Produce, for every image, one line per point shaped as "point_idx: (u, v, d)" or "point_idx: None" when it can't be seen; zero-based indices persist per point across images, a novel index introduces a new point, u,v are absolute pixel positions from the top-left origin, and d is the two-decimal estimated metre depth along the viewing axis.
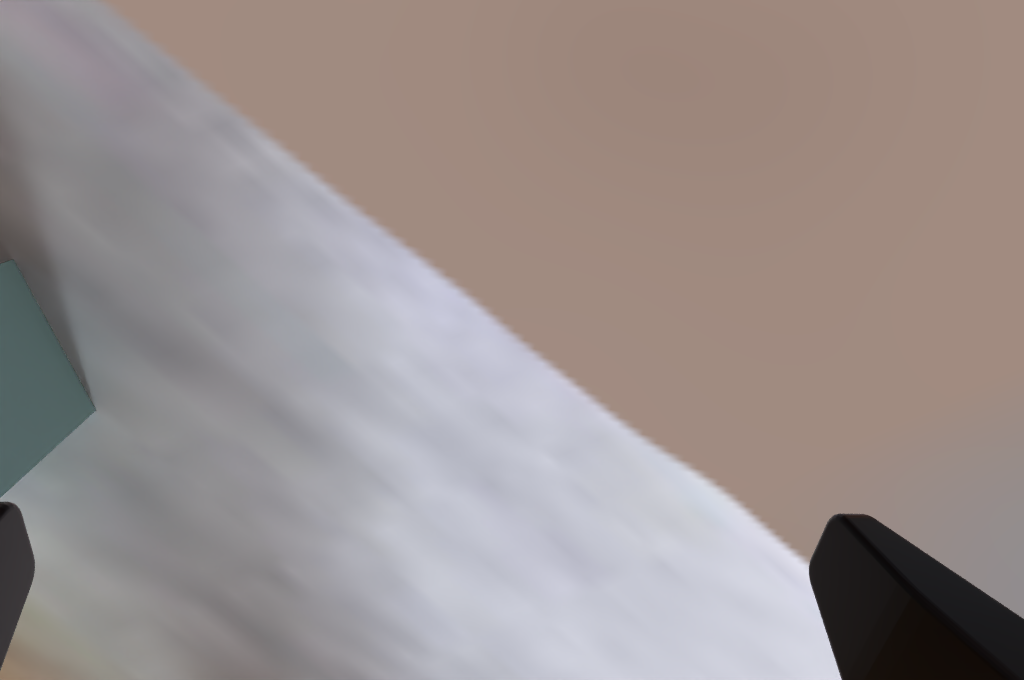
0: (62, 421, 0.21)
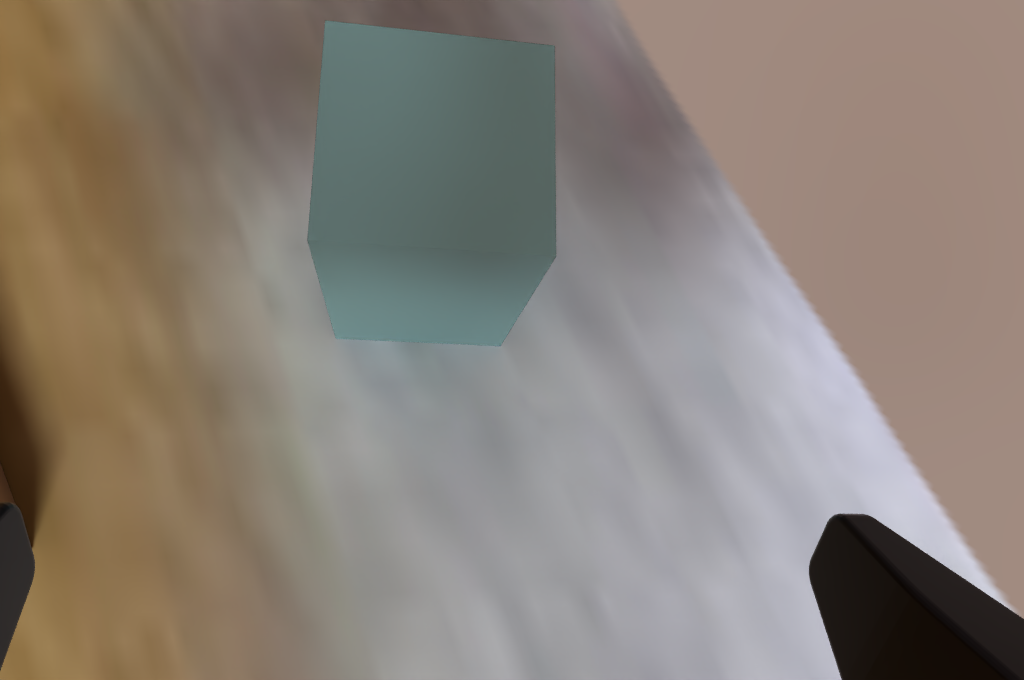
0: None
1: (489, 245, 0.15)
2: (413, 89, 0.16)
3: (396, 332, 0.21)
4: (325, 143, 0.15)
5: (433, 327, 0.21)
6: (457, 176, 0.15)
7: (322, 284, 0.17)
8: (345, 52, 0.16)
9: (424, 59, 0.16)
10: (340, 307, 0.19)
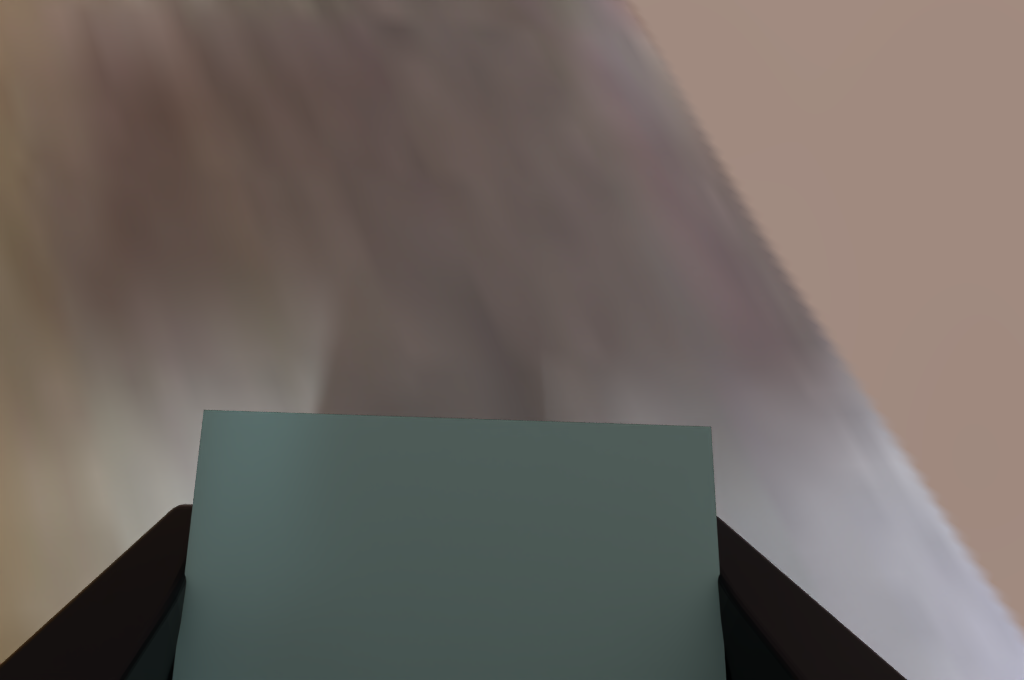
0: None
1: None
2: (404, 573, 0.07)
3: None
4: None
5: None
6: None
7: None
8: (248, 490, 0.07)
9: (430, 490, 0.07)
10: None
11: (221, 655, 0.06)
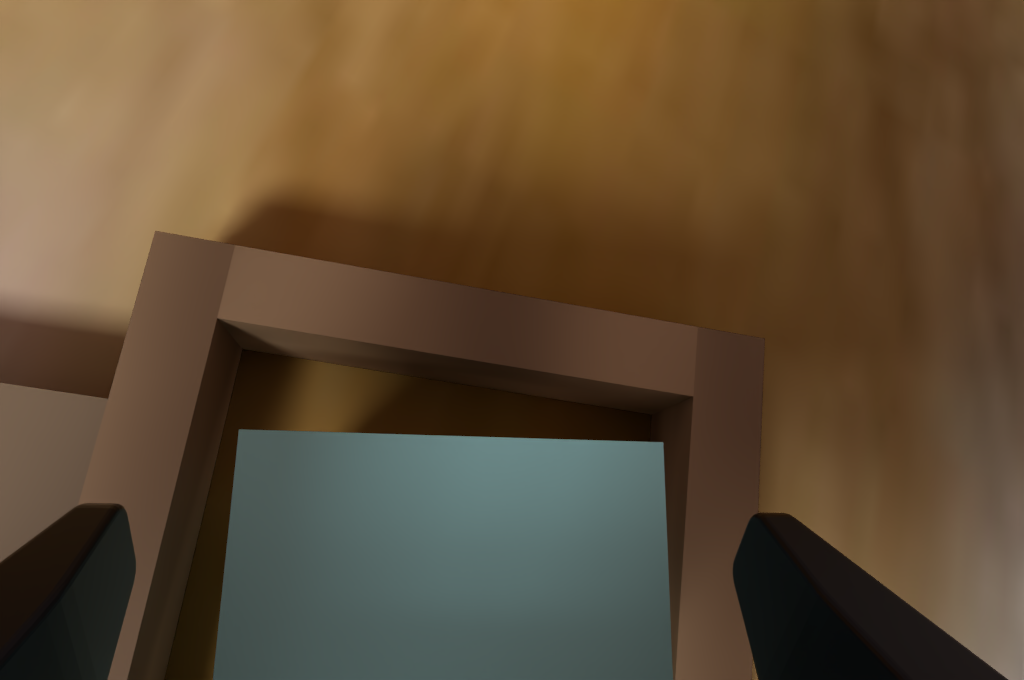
0: None
1: None
2: (405, 564, 0.08)
3: None
4: None
5: None
6: None
7: None
8: (276, 495, 0.08)
9: (426, 495, 0.08)
10: None
11: (255, 631, 0.08)
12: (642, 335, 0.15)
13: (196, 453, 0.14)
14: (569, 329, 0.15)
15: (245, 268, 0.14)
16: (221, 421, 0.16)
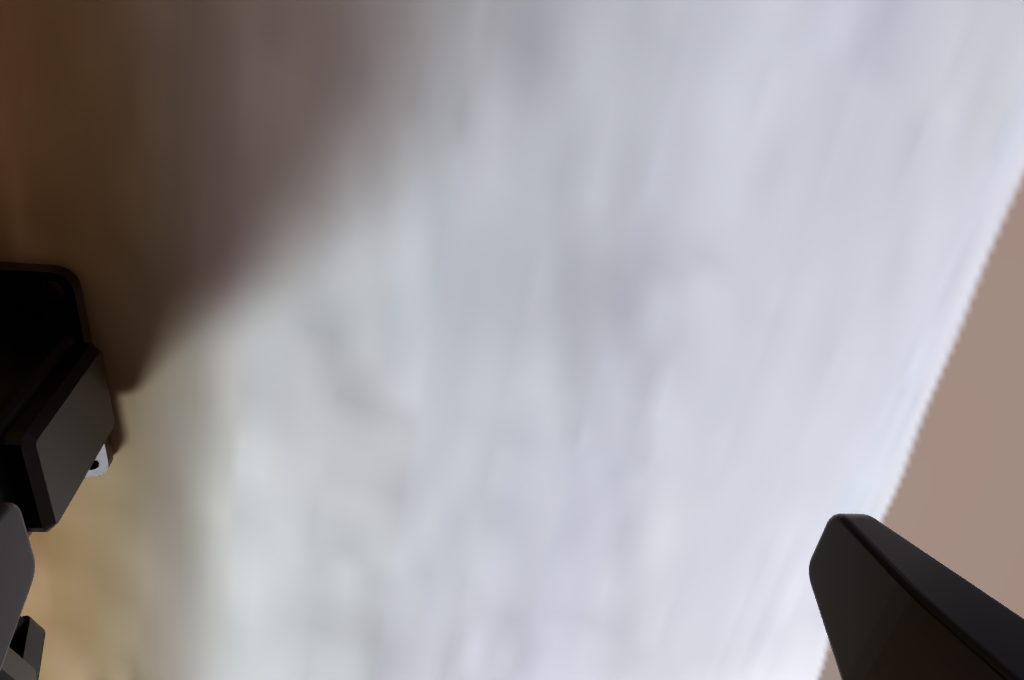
0: None
1: None
2: None
3: None
4: None
5: None
6: None
7: None
8: None
9: None
10: None
11: None
12: None
13: None
14: None
15: None
16: None
